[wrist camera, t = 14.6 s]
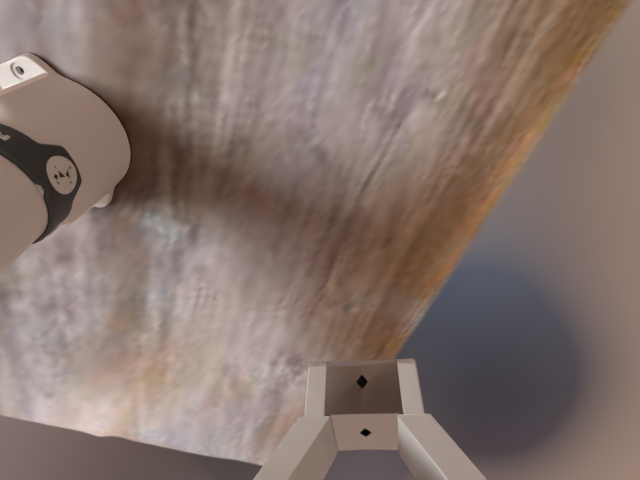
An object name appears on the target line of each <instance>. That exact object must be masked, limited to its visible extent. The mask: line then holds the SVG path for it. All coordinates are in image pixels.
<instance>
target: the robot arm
mask: <svg viewBox="0 0 640 480" xmlns="http://www.w3.org/2000/svg"><path fill="white" fill-rule="evenodd" d="M20 67H21V68H22V69H23V70H24V72H22V71H21V69H20ZM130 157H131V154H130V145H129V141H128V138H127V135H126V132H125V130H124V128H123V126H122V124H121V123H120V121H119V119H118V118H117V116H116V115H115V114H114V112H113V111H112V110H111V109H110V108H109V107H108V106H107V105H106V103H105V102H103V101H102V100H101V99H100V98H99V97H98V96H97V95H95V94H94V93H93V92H91V91H90V90H88V89H87V88H85V87H83V86H82V85H80V84H78V83H76V82H74V81H71V80H69V79H67V78H65V77H63V76H61V75H59V74H58V73H56V72H55V71H54V70H53V69H52V68H51V67H50V66H48V65H47V64H46V63H45V62H44V61H42V60H41V59H40V58H38V57H37V56H35V55H33V54H31V53H24V54H22V55H19V56H17V57H15V58H12V59H10V60H8V61H5V62H3V63H1V64H0V275H1V274H2V273H3V272H4V271H5V270H6V269H7V268H8V267H9V266H10V265H11V264H12V263H13V262H14V261H15V260H16V259H17V258H18V257H19V256H20V255H21V254H22V253H23V252H24V251H25V250H26V249H27V248H28V247H29V246H30V245H31V244H34V243H37V242H39V241H41V240H43V239H44V238H45V237H46V236H48V235H50V234H51V233H53V232H54V231H55V230H56V229H57V228H58V227H59V226H60V225H63V224H64V225H66V226H67V225H70V224H72V223H74V222H75V221H76V220H77V219H79V218H80V217H81V216H82V215H84V214H85V213H86V212H87V211H89V210H90V209H91V208H92V207H105V206H106V205H108V204H109V203H110V202H111V200H112V197H113V192H114V188H115V186H116V185H117V184H118V183H119V182H120V180H121V179H122V178H123V177H124V176H125V174H126V172H127V170H128V168H129V164H130ZM367 448H368V449H379V450H380V449H381V450H398V452H399V453H400V455H401V456H402V458H403V459H404V461H405V463H406V464H407V466H408V467H409V469H410V470H411V472H412V473H413V475H414V476H415V478H416V480H486V478H485V477H484V476H483V475H482V474H481V473H480V472H479V470H478V469H477V468H476V467H475V466H474V464H473V463H472V462H471V461H470V460H469V459H468V458H467V456H466V455H465V454H464V453H463V452H462V450H461V449H460V448H459V447H458V446H457V445H456V443H455V442H454V441H453V440H452V439H451V438H450V436H449V435H448V434H447V433H446V432H445V431H444V429H443V428H442V427H441V426H440V425H439V424H438V422H437V421H436V420H435V419H434V418H433V416H431V414H425V413H424V407H423V401H422V395H421V390H420V384H419V378H418V373H417V367H416V362H415V360H414V359H413V358H412V359H382V360H363V361H344V362H310V365H309V370H308V382H307V393H306V405H305V416H299V418H298V419H297V420H296V422H295V423H294V425H293V426H292V427H291V429H290V430H289V431H288V433H287V434H286V436H285V437H284V438H283V440H282V441H281V442H280V444H279V445H278V446H277V448H276V449H275V451H274V452H273V453H272V455H271V456H270V457H269V459H268V460H267V462H266V463H265V464H264V466H263V467H262V468H261V470H260V471H259V473H258V474H257V475H256V477H255V478H254V479H253V480H323V479H324V477H325V475H326V473H327V472H328V470H329V468H330V466H331V464H332V462H333V460H334V459H335V457H336V455H337V452H338V451H337V450H360V449H367Z"/></svg>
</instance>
